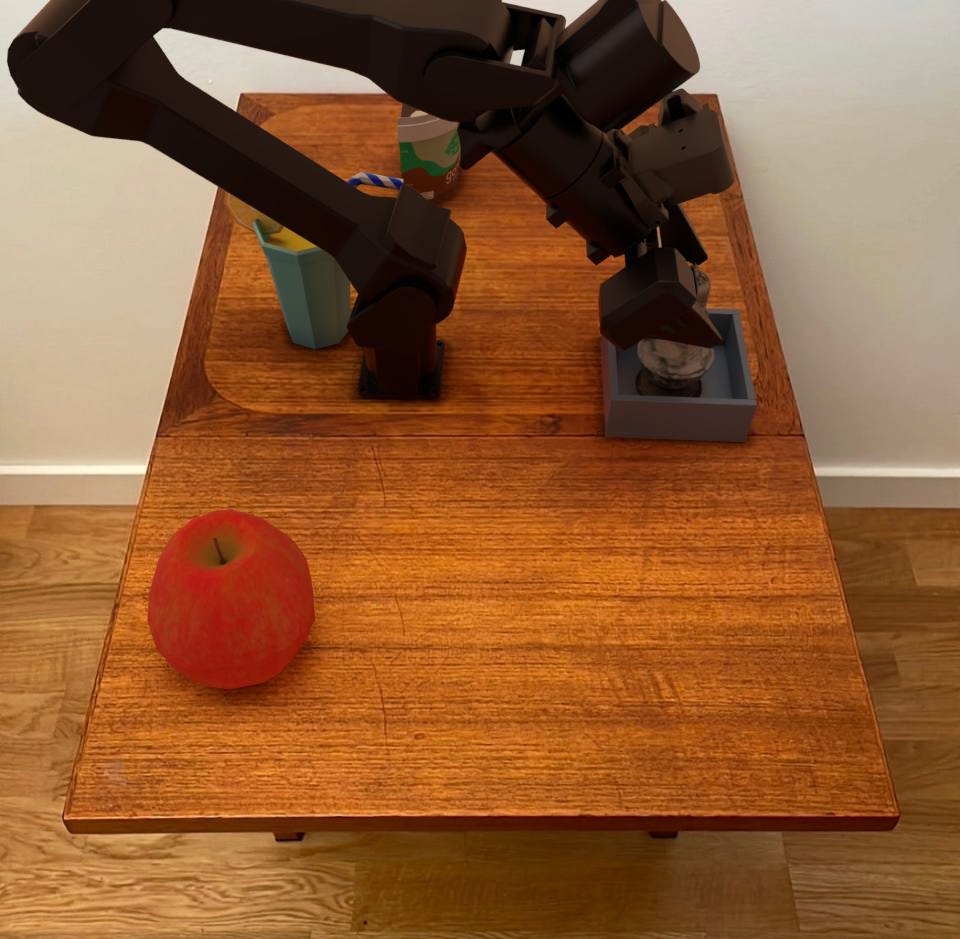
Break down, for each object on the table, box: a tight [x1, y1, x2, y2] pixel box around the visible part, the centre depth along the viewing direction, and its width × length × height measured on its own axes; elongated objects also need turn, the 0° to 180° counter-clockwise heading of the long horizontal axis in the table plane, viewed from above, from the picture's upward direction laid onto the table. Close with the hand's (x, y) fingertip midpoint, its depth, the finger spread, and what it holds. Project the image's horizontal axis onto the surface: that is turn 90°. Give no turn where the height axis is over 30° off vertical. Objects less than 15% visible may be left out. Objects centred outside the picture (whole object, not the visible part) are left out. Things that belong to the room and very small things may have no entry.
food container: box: [396, 103, 460, 205], centre depth 94 cm, size 12×6×10 cm, turn 179°
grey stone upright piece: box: [635, 263, 714, 398], centre depth 74 cm, size 6×6×12 cm
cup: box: [222, 171, 404, 350], centre depth 78 cm, size 14×8×15 cm, turn 90°
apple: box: [147, 508, 316, 690], centre depth 61 cm, size 10×10×10 cm
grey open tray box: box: [599, 307, 758, 443], centre depth 78 cm, size 11×11×4 cm
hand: (709, 300), depth 72 cm, fingers open, 9 cm apart
